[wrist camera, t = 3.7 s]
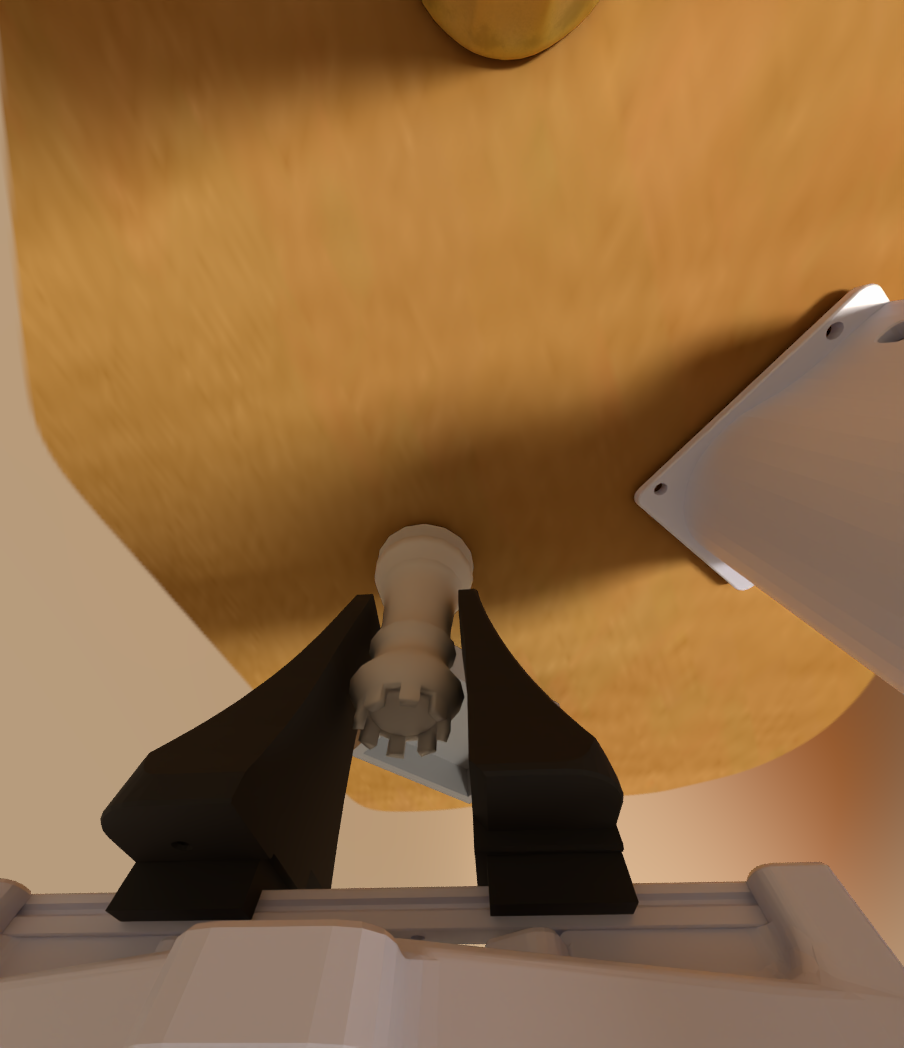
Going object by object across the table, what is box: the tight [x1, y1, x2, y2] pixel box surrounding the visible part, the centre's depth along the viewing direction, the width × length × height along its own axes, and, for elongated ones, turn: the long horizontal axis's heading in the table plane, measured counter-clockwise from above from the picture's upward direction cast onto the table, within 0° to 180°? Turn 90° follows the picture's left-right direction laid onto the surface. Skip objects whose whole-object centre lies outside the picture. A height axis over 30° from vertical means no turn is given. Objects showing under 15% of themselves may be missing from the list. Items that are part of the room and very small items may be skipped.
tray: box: [352, 645, 560, 804], centre depth 20 cm, size 9×9×2 cm
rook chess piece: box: [349, 524, 474, 759], centre depth 12 cm, size 4×4×8 cm
